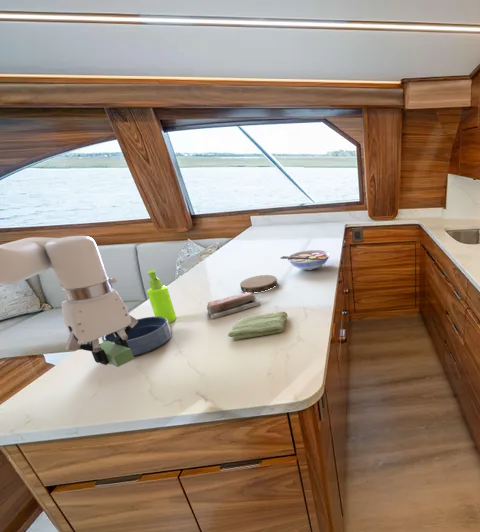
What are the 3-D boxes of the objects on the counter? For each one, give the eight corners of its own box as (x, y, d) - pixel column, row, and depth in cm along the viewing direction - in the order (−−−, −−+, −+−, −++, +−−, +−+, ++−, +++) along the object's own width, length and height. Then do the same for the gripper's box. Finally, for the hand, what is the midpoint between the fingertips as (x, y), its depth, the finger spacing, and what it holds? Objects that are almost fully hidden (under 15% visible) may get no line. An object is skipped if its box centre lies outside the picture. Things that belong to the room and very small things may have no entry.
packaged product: (209, 308, 111) (204, 300, 118) (212, 319, 113) (207, 311, 120) (259, 294, 122) (252, 287, 129) (261, 305, 124) (254, 297, 131)
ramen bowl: (339, 262, 175) (338, 249, 172) (321, 276, 154) (319, 261, 151) (301, 260, 181) (299, 247, 178) (278, 273, 160) (276, 259, 157)
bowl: (128, 364, 88) (121, 347, 86) (97, 353, 94) (90, 337, 92) (183, 336, 102) (178, 320, 100) (153, 328, 108) (148, 313, 106)
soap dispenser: (174, 314, 118) (160, 266, 112) (177, 320, 113) (162, 271, 107) (156, 319, 114) (140, 270, 108) (158, 325, 110) (141, 275, 103)
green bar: (134, 358, 74) (130, 348, 73) (117, 367, 71) (113, 356, 70) (110, 350, 77) (107, 340, 76) (94, 358, 74) (89, 347, 73)
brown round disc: (260, 279, 153) (258, 273, 152) (284, 282, 147) (283, 277, 146) (233, 291, 139) (232, 285, 138) (259, 295, 133) (258, 289, 132)
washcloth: (238, 322, 110) (236, 315, 109) (288, 316, 114) (287, 309, 113) (227, 342, 98) (225, 333, 97) (283, 334, 102) (282, 326, 101)
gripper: (121, 276, 77) (142, 338, 82) (27, 302, 62) (60, 375, 68) (139, 280, 74) (159, 343, 80) (45, 308, 59) (78, 383, 65)
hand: (113, 357), depth 74 cm, fingers closed on green bar, 3 cm apart
